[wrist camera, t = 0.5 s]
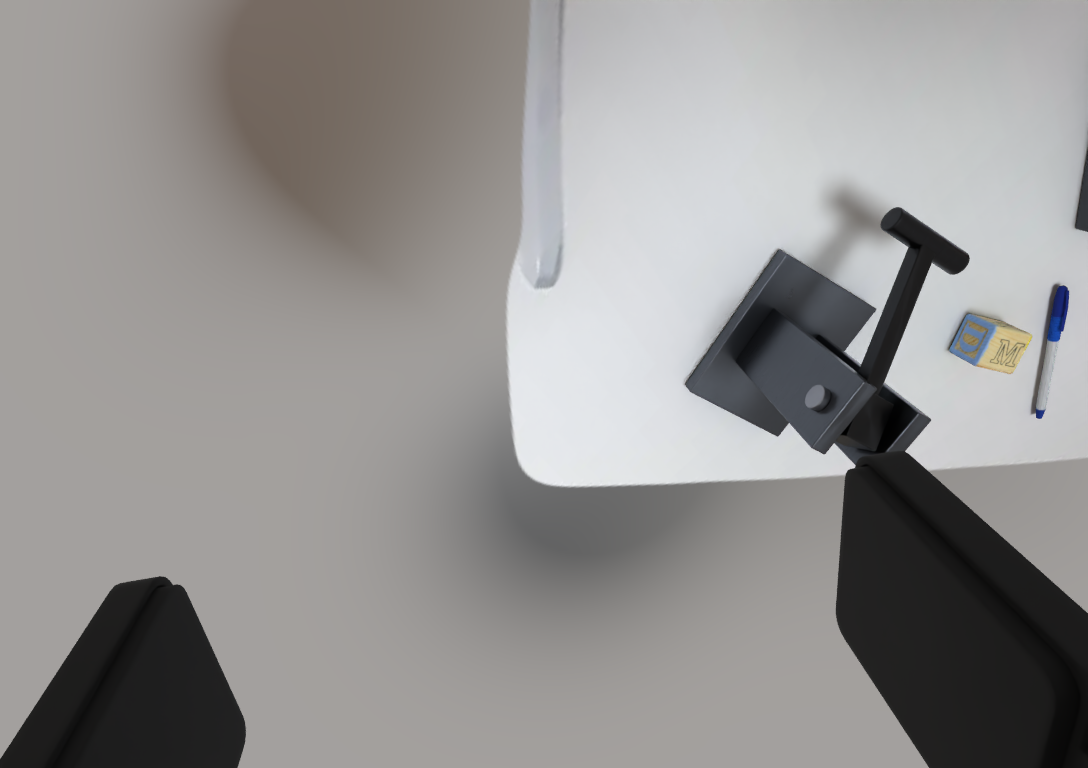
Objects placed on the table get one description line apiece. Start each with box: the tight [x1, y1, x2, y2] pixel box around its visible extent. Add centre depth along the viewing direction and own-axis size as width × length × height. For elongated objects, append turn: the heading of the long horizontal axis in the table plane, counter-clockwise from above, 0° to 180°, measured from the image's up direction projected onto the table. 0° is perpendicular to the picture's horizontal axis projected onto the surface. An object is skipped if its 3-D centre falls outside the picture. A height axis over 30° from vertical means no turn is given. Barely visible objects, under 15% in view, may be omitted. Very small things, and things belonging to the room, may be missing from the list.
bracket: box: [685, 250, 931, 465], centre depth 43 cm, size 11×8×13 cm
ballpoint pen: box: [1036, 286, 1069, 419], centre depth 51 cm, size 10×1×1 cm, turn 10°
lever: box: [836, 207, 970, 451], centre depth 39 cm, size 13×6×2 cm, turn 150°
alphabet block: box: [950, 313, 1032, 374], centre depth 49 cm, size 3×3×3 cm
